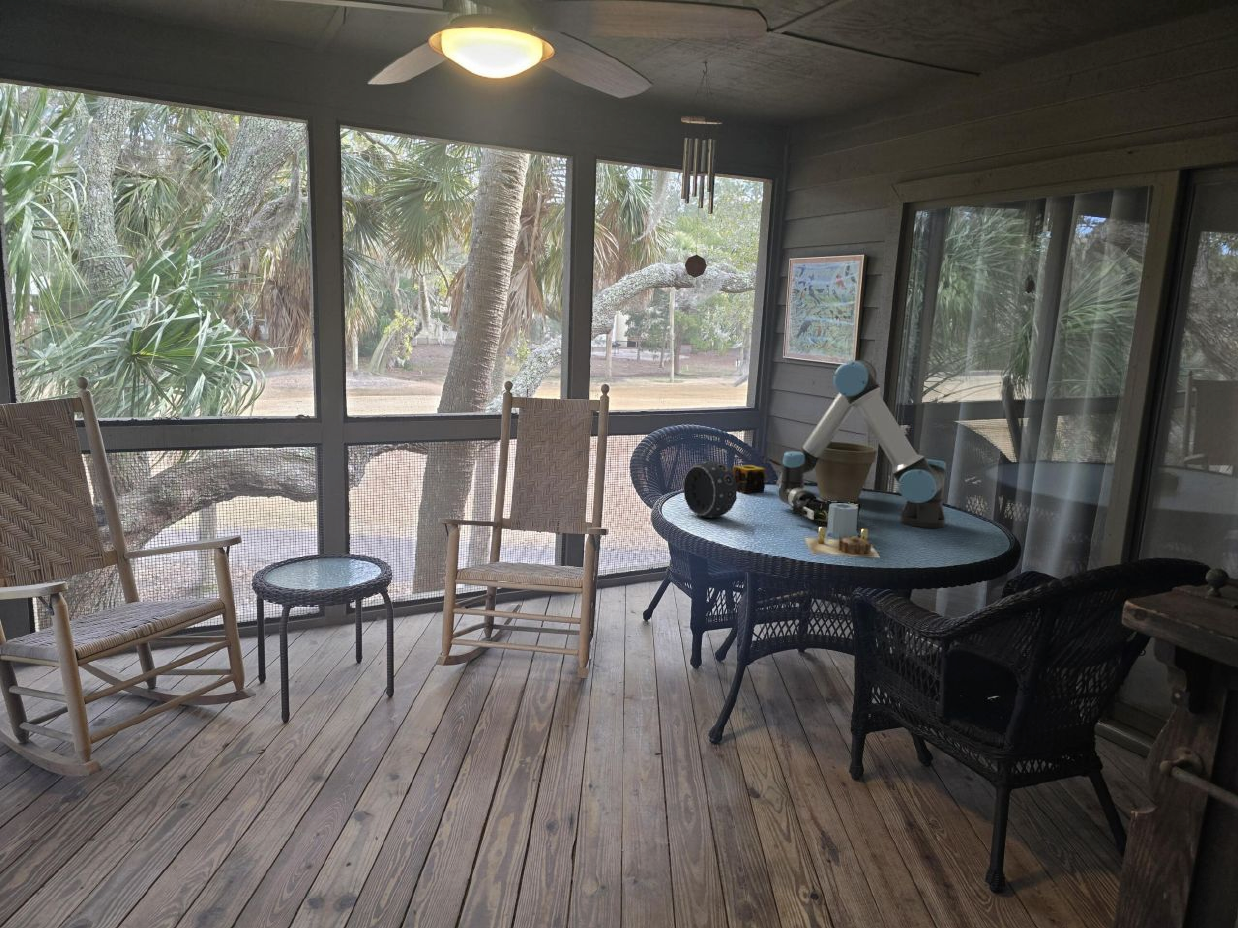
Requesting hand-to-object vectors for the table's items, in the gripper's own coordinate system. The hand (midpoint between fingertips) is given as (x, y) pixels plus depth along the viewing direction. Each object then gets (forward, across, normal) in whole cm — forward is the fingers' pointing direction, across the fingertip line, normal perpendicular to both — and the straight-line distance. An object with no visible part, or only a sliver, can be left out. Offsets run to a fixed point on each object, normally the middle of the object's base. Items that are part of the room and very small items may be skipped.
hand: (831, 515), depth 266 cm
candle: (-66, +2, -7) cm, 66 cm away
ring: (-26, +34, -7) cm, 43 cm away
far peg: (+18, -2, -5) cm, 19 cm away
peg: (+15, +11, -5) cm, 19 cm away
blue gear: (+6, -1, -6) cm, 9 cm away
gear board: (+20, +7, -6) cm, 22 cm away
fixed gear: (+24, +5, -5) cm, 25 cm away
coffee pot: (-63, -11, -7) cm, 64 cm away
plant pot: (-48, -30, -7) cm, 57 cm away
